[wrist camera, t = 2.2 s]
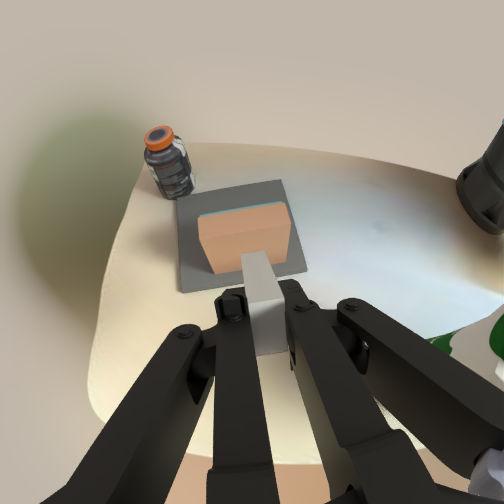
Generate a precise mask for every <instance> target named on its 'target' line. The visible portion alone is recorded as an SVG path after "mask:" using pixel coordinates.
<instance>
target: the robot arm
mask: <svg viewBox="0 0 504 504" xmlns="http://www.w3.org/2000/svg"><path fill="white" fill-rule="evenodd" d="M502 123H503V124H502V126H501V127H500V129H499V131H498V132H497V134H496V136H495V137H494V139H493V140H492V142H491V144H490V145H489V147H488V148H487V150H486V151H485V153H484V155H483V156H482V157H481V158H480V159H478V160H477V161H475V162H473V163H472V164H470V165H469V166H467V167H466V168H464V169H463V171H462V172H461V173H460V175H459V176H458V178H457V182H456V187H457V192H458V195H459V198H460V200H461V202H462V204H463V206H464V208H465V209H466V211H467V212H468V214H469V215H470V216H471V217H472V219H473V220H474V221H475V222H476V223H477V224H478V225H479V226H480V227H481V228H483V229H484V230H486V231H487V232H489V233H491V234H495V235H499V234H502V233H503V232H504V119H503V121H502ZM241 262H242V270H243V278H244V285H245V287H238V288H231V289H226V290H225V291H224V292H223V293H222V295H221V296H219V297H218V298H216V299H215V301H214V304H215V309H216V314H217V318H218V324H217V325H215V326H214V327H212V328H209V329H206V330H203V331H201V329H200V327H199V326H197V325H194V324H184V325H180V326H178V327H176V328H174V329H173V330H172V331H171V332H170V333H169V335H168V336H167V337H166V339H165V340H164V342H163V343H162V344H161V346H160V347H159V349H158V350H157V351H156V353H155V354H154V356H153V357H152V358H151V360H150V361H149V363H148V364H147V365H146V367H145V368H144V370H143V371H142V373H141V374H140V375H139V377H138V378H137V380H136V381H135V383H134V384H133V385H132V387H131V388H130V390H129V391H128V393H127V394H126V396H125V397H124V398H123V400H122V401H121V403H120V404H119V406H118V407H117V409H116V410H115V412H114V413H113V415H112V416H111V417H110V419H109V420H108V422H107V423H106V425H105V426H104V428H103V429H102V431H101V433H100V434H99V435H98V437H97V438H96V440H95V441H94V443H93V444H92V446H91V447H90V449H89V450H88V452H87V453H86V455H85V456H84V458H83V459H82V461H81V463H80V464H79V466H78V467H77V469H76V470H75V472H74V473H73V475H72V476H71V478H70V479H69V481H68V482H67V484H66V485H65V486H63V487H62V488H61V489H59V490H58V491H57V492H55V493H54V494H53V495H51V496H50V497H48V498H47V499H46V500H44V501H43V502H41V503H40V504H164V503H165V501H166V498H167V496H168V493H169V491H170V488H171V486H172V484H173V481H174V479H175V476H176V474H177V471H178V469H179V467H180V464H181V462H182V459H183V457H184V454H185V452H186V449H187V447H188V445H189V442H190V440H191V437H192V435H193V432H194V430H195V427H196V425H197V422H198V420H199V417H200V415H201V412H202V410H203V407H204V405H205V402H206V400H207V397H208V394H209V392H210V389H211V387H212V384H213V382H214V376H215V391H214V427H213V466H212V468H211V469H209V470H208V473H207V482H206V486H207V487H206V504H280V501H279V495H278V489H277V483H276V478H275V472H274V465H273V459H272V453H271V447H270V441H269V435H268V429H267V423H266V417H265V411H264V405H263V398H262V392H261V386H260V379H259V373H258V366H257V360H256V356H261V355H268V354H274V353H280V352H286V351H288V345H289V348H290V364H291V370H293V369H294V372H295V375H296V378H297V382H298V385H299V388H300V391H301V395H302V398H303V401H304V404H305V408H306V411H307V414H308V417H309V421H310V424H311V427H312V430H313V434H314V437H315V440H316V444H317V447H318V450H319V453H320V457H321V460H322V463H323V467H324V470H325V473H326V476H327V480H328V483H329V488H330V499H331V501H329V502H327V503H325V504H504V391H502V390H501V389H499V388H498V387H496V386H495V385H493V384H492V383H490V382H489V381H487V380H486V379H484V378H483V377H481V376H480V375H479V374H477V373H476V372H474V371H473V370H471V369H470V368H468V367H467V366H465V365H463V364H462V363H460V362H459V361H457V360H456V359H454V358H453V357H451V356H450V355H448V354H447V353H445V352H444V351H442V350H441V349H439V348H438V347H436V346H435V345H433V344H431V343H430V342H428V341H427V340H425V339H424V338H422V337H421V336H419V335H417V334H416V333H414V332H413V331H411V330H410V329H408V328H407V327H405V326H403V325H402V324H400V323H399V322H397V321H396V320H394V319H392V318H391V317H389V316H388V315H386V314H384V313H383V312H381V311H380V310H378V309H377V308H375V307H373V306H372V305H370V304H369V303H367V302H365V301H363V300H361V299H357V298H348V299H344V300H342V301H340V302H339V303H338V304H337V309H335V310H326V309H320V307H319V306H318V304H317V303H316V302H314V301H312V300H309V299H308V297H307V296H306V294H305V292H304V291H303V289H302V287H301V286H300V284H299V282H297V281H296V280H294V279H288V280H281V281H277V279H276V277H275V274H274V272H273V270H272V267H271V265H270V263H269V260H268V258H267V255H266V253H265V251H259V252H252V253H245V254H241ZM365 342H366V343H367V345H368V347H367V346H366V345H365V344H364V343H365ZM371 394H372V395H373V396H374V397H375V398H376V399H377V400H378V401H379V402H380V403H381V404H382V405H383V406H384V407H385V408H386V409H387V410H388V411H389V412H390V413H391V414H392V415H393V416H394V417H395V418H396V419H397V420H398V421H399V422H400V423H401V424H402V425H403V426H404V427H406V428H407V429H408V430H409V431H410V432H411V433H412V434H413V435H414V436H415V437H416V438H417V439H418V440H419V441H420V442H421V443H422V444H423V445H424V446H425V447H426V448H428V449H429V450H430V451H431V452H432V453H433V454H434V455H435V456H436V457H437V458H438V459H439V460H441V462H442V463H444V464H445V465H446V466H447V467H449V468H450V469H451V470H452V471H454V472H455V473H457V474H459V475H460V476H462V477H464V478H467V479H469V480H471V482H470V484H469V487H468V492H469V493H466V492H463V491H459V490H456V489H452V488H449V487H446V486H443V485H440V484H437V483H434V481H433V479H432V477H431V475H430V474H429V472H428V470H427V468H426V466H425V465H424V463H423V461H422V459H421V457H420V456H419V454H418V452H417V450H416V449H415V447H414V445H413V444H412V442H411V440H410V438H409V437H408V435H407V434H406V433H405V432H404V431H403V430H401V429H395V430H393V429H392V428H391V427H390V426H389V425H388V423H387V421H386V419H385V417H384V416H383V414H382V412H381V410H380V409H379V407H378V405H377V403H376V402H375V400H374V398H373V396H372V395H371ZM478 495H480V496H478Z"/></svg>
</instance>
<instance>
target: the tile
mask: <svg viewBox="0 0 504 504" xmlns="http://www.w3.org/2000/svg"><path fill="white" fill-rule="evenodd" d="M290 228H291V221H290V218H289V215H288V211H287V208H286V205H285V203H282V201H279V202H272V203H266V204H260V205H254V206H248V207H242V208H236V209H231V210H225V211H220V212H214V213H209V214H204V215H200V217H199V218H198V230H199V240H200V242H201V245H202V247H203V249H204V251H205V254H206V256H207V258H208V260H209V263H210V265H211V267H212V269H213V271H214V274H215V275H216V274H222V273H227V272H233V271H239V270H242V262H241V254H245V253H252V252H259V251H265V253H266V255H267V258H268V260H269V263H270V265H272V264H278V263H283V262H286V256H287V249H288V242H289V235H290Z"/></svg>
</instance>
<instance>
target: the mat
mask: <svg viewBox="0 0 504 504" xmlns="http://www.w3.org/2000/svg"><path fill="white" fill-rule="evenodd" d="M279 201H282V203H285V205H286V208H287V211H288V215H289V218H290V221H291V228H290V235H289V242H288V249H287V256H286V262H283V263H278V264H272V265H271V267H272V270H273V272H274V274H275V277H281V276H286V275H292V274H297V273H302V272H307V265H306V262H305V258H304V254H303V251H302V247H301V244H300V240H299V237H298V234H297V230H296V227H295V223H294V220H293V217H292V213H291V210H290V207H289V204H288V200H287V197H286V194H285V191H284V188H283V185H282V182H281V179H280V180H273V181H267V182H260V183H254V184H248V185H242V186H236V187H230V188H224V189H219V190H213V191H208V192H203V193H198V194H193V195H188V196H183V197H178V198H177V217H178V243H179V262H180V277H181V290H182V293H190V292H196V291H202V290H208V289H214V288H220V287H226V286H231V285H237V284H243V283H244V278H243V270H239V271H233V272H227V273H222V274H216V275H215V274H214V271H213V269H212V267H211V265H210V263H209V260H208V258H207V256H206V254H205V251H204V249H203V247H202V245H201V242H200V240H199V230H198V218H199V217H200V215H204V214H209V213H214V212H220V211H225V210H231V209H236V208H242V207H248V206H254V205H260V204H266V203H272V202H279Z"/></svg>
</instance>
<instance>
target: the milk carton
mask: <svg viewBox="0 0 504 504" xmlns="http://www.w3.org/2000/svg"><path fill="white" fill-rule="evenodd" d="M425 340H427V341H428V342H430V343H431V344H433V345H435V346H436V347H438V348H439V349H441V350H442V351H444V352H445V353H447V354H448V355H450V356H451V357H453V358H454V359H456V360H457V361H459V362H460V363H462V364H463V365H465V366H467V367H468V368H470V369H471V370H473V371H474V372H476V373H477V374H479V375H480V376H481V377H483V378H484V379H486V380H487V381H489V382H490V383H492V384H493V385H495V386H496V387H498V388H499V389H501V390H502V391H504V304H503V305H502V306H501V307H499V308H498V309H497V310H496V311H495V312H493V313H492V314H491V315H490V316H488V317H486V318H484V319H482V320H479V321H477V322H475V323H473V324H470V325H468V326H466V327H463V328H461V329H458V330H456V331H453V332H451V333H448V334H446V335H442V336H438V337H434V338H430V339H425Z"/></svg>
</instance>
